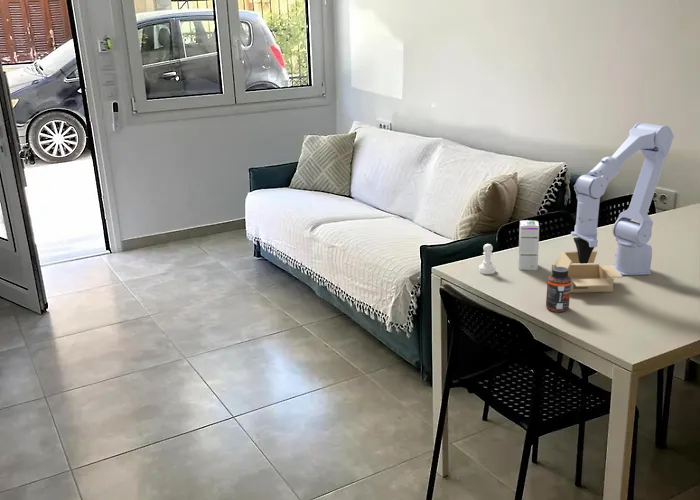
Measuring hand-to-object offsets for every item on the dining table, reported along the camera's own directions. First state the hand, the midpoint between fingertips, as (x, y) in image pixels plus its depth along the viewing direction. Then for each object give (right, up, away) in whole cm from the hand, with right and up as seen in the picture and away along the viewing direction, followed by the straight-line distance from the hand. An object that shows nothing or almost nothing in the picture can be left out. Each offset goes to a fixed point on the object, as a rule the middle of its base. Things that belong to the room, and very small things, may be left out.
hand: (583, 262), depth 189 cm
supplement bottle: (-12, -12, -13) cm, 22 cm away
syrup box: (-12, -2, +16) cm, 20 cm away
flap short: (0, 0, +5) cm, 5 cm away
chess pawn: (-25, -3, +14) cm, 29 cm away
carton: (+1, -7, -1) cm, 7 cm away
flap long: (-7, -2, 0) cm, 7 cm away
